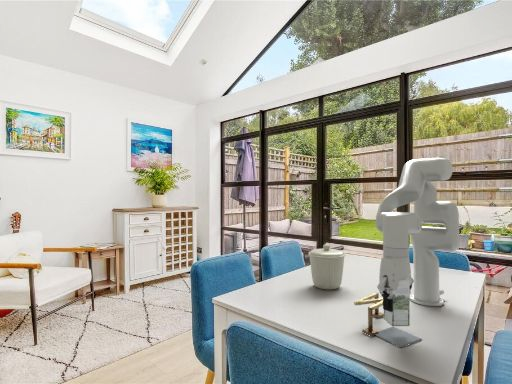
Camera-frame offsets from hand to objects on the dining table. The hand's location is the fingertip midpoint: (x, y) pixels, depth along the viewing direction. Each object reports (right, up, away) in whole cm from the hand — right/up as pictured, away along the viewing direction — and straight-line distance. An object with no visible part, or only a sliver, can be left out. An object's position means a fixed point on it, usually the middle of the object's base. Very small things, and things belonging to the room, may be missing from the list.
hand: (396, 307), depth 97 cm
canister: (-10, -10, +54) cm, 56 cm away
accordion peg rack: (-3, -10, +10) cm, 14 cm away
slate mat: (0, -9, 0) cm, 9 cm away
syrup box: (0, -5, 0) cm, 5 cm away
